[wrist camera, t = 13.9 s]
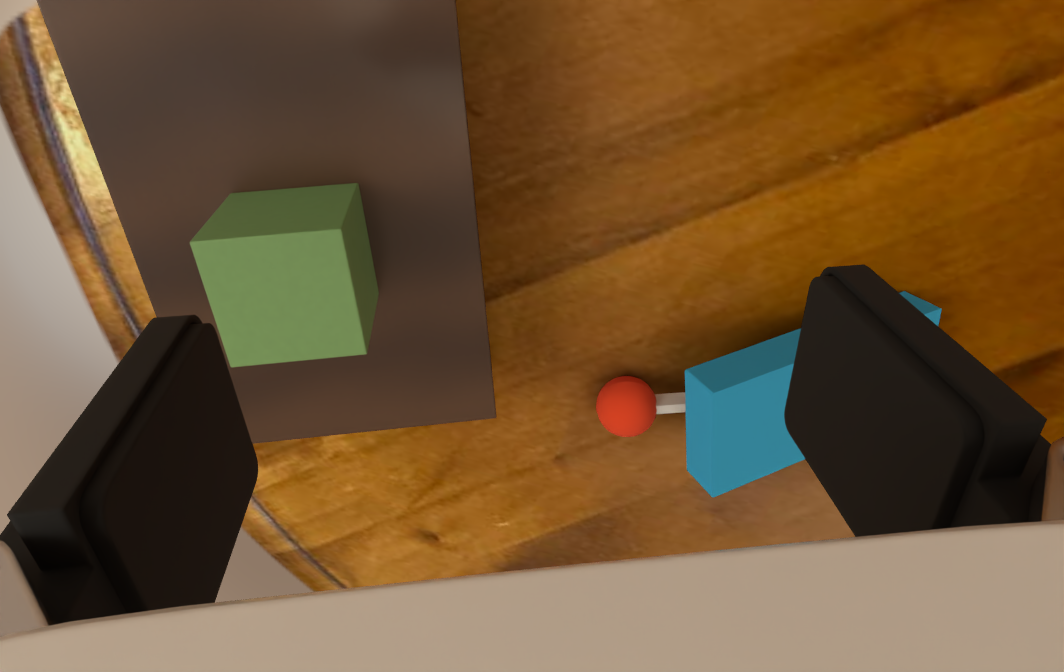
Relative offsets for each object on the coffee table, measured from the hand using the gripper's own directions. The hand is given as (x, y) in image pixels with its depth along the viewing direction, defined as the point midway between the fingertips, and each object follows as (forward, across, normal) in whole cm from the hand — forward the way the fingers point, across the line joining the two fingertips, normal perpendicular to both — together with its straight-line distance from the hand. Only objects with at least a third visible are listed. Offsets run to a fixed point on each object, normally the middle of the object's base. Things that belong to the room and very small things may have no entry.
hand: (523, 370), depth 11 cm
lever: (+23, -15, +17) cm, 32 cm away
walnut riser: (+23, +8, +5) cm, 25 cm away
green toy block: (+18, +8, +5) cm, 20 cm away
